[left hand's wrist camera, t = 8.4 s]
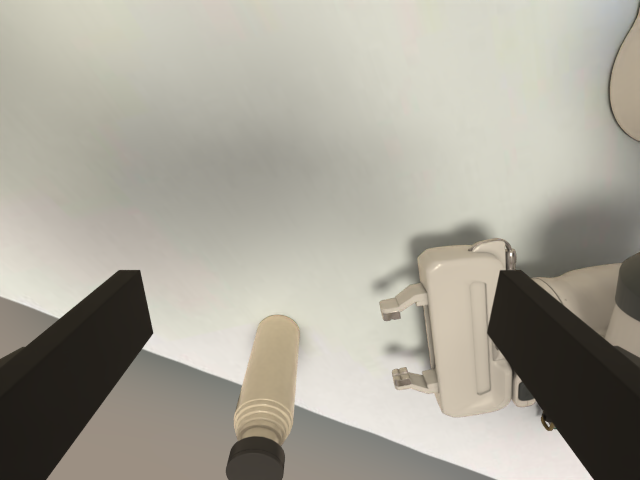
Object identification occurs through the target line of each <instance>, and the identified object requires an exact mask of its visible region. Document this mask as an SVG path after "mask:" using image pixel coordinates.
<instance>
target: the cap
mask: <svg viewBox="0 0 640 480" xmlns="http://www.w3.org/2000/svg"><path fill="white" fill-rule="evenodd" d="M284 462H285V454H284V451H283V449H282V447H281V446H280V445H279V444H278V443H277V442H275V441H273V440H272V439H269V438H266V437H260V436H251V437H246V438H243V439H241V440H239V441H238V442H236V443H235V444H234V446H233V447H232V449H231V451H230V455H229V459H228V463H227V467H226V475H227V478H228V479H229V480H282V478H283V472H284Z"/></svg>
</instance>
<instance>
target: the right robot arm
mask: <svg viewBox="0 0 640 480" xmlns="http://www.w3.org/2000/svg"><path fill="white" fill-rule="evenodd" d="M610 102H611V107H612V111H613V114H614V116H615V118H616V120H617V122H618V124H619V125H620V127H621V128H622V129H623V130H624V131H625V132H626V133H627V134H628V135H629V136H631V137H632V138H634V139H635V140H638V141H640V9H639V13H638V16H637V19H636V21H635V23H634V25H633V26H632V28H631V30H630V32H629V33H628V35H627V37H626V38H625V40H624V42H623V44H622V46H621V48H620V50H619V52H618V55H617V57H616V60H615V63H614V66H613V70H612V75H611V81H610ZM505 246H506V248H507V249H505ZM417 260H418V269H419V276H420V283H417V284H412V285H409V286H408V287H407V288H405V289H404V290H403V291H402V292H400V293H399V294H398V295H397V296H395V298H391V299H386V300H382V301H380V302H379V303H380V309H381V314H382V317H383V320H384V321H390V320H391V319H394V320H396V319H401V317H400V312H401V311H403V310H404V309H406V308H407V307H409V306H410V305H412V304H413V303H416V305H417V306H423V308H424V316H425V324H426V332H427V340H428V348H429V356H430V364H431V370H426V371H422V374H423V375H419V374H414V373H409V372H408V371H407V368H406V367H404V368H400V369H394V370H392V376H393V381H394V385H395V388H396V389H397V390H403V389H409V388H412V389H414V390H417V391H420V392H424V393H427V394H430V393H434V394H435V397H436V399H437V402H438V404H439V407H440V409H441V411H442V413H444V414H446V415H448V416H451V417H466V416H473V415H479V414H484V413H489V412H494V411H497V410H500V409H502V408H504V407H505V406H507V405H508V404H509V402H510V401H511V400H512V401H513V402H514V404H515V405H516V406H518V407H527V406H531V405H533V404H534V403H535V402H536V400H535V399H534V397H533V396H532V394H531V393H530V392H529V390H528V389H527V388H526V386H525V385H524V383H523V382H522V381H521V379H520V378H519V377H518V375H517V374H516V373H515V371H514V370H513V368H512V367H511V366H510V364H509V363H508V362H507V360H506V359H505V357H504V356H503V355H502V353H501V352H500V351H499V349H498V348H497V347H496V345H495V344H494V342H493V341H492V340H491V338H490V337H489V336H488V334H487V329H488V325H489V320H490V315H491V310H492V306H493V301H494V296H495V291H496V286H497V282H498V277H499V272H500V270H516V269H515V268H516V267H515V263H516V260H517V256H516V251H515V249H512V248H511V246H510V244H509V243H508V242H507V241H505V240H503V239H499V238H493V239H488V240H483V241H479V242H477V243H475V244H473V245H453V246H443V247H435V248H429V249H426V250H425V251H424V252H423V253H422V254H421V255H420V256H419V257H418V259H417ZM531 279H532V280H534V281H535V282H536V283H537V284H538V285H540V286H541V287H542V288H543V289H545V290H546V291H547V292H548V293H549V294H551V295H552V296H553V297H554V298H555V299H557V300H558V301H559V302H560V303H562V304H563V305H564V306H565V307H566V308H568V309H569V310H570V311H571V312H573V313H574V314H575V315H576V316H577V317H579V318H580V319H581V320H582V321H584V322H585V323H586V324H587V325H588V326H590V327H591V328H592V329H593V330H594V331H596V332H597V333H598V334H599V335H601V336H602V337H603V338H604V339H605V340H607V341H608V342H609V343H610V344H612V345H613V346H619V347H621V348H623V349H625V350H627V351H629V352H630V353H632V354H634V355H636V356H638V357H640V252H639V253H637V254H635V255H633V256H632V257H630V258H628V259H627V260H625V261H624V262H623V263H615V264H606V265H599V266H592V267H587V268H581V269H576V270H572V271H569V272H567V273H565V274H563V275H561V276H558V277H554V278H545V277H534V278H531Z"/></svg>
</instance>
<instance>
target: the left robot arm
mask: <svg viewBox="0 0 640 480" xmlns="http://www.w3.org/2000/svg"><path fill="white" fill-rule="evenodd" d="M152 334H153V329H152V325H151V320H150V315H149V310H148V306H147V301H146V296H145V291H144V286H143V282H142V277H141V272H140V270H119V271H117V272H116V273H115V274H114V275H113V276H111V277H110V278H109V279H108V280H106V281H105V282H104V283H103V284H102V285H100V286H99V287H98V288H97V289H95V290H94V291H93V292H92V293H91V294H89V295H88V296H87V297H86V298H85V299H83V300H82V301H81V302H80V303H78V304H77V305H76V306H75V307H74V308H72V309H71V310H70V311H69V312H67V313H66V314H65V315H64V316H63V317H61V318H60V319H59V320H58V321H56V322H55V323H54V324H53V325H52V326H50V327H49V328H48V329H47V330H46V331H44V332H43V333H42V334H41V335H39V336H38V337H37V338H36V339H35V340H33V341H32V342H31V343H30V344H28V345H27V346H26V347H22V348H20V349H18V350H16V351H14V352H12V353H10V354H9V355H7V356H5V357H3V358H1V359H0V480H46V479H47V478H48V476H49V475H50V474H51V472H52V471H53V470H54V468H55V467H56V465H57V464H58V463H59V461H60V460H61V459H62V457H63V456H64V455H65V453H66V452H67V450H68V449H69V448H70V446H71V445H72V444H73V442H74V441H75V439H76V438H77V437H78V435H79V434H80V433H81V431H82V430H83V429H84V427H85V426H86V424H87V423H88V422H89V420H90V419H91V418H92V416H93V415H94V414H95V412H96V411H97V409H98V408H99V407H100V405H101V404H102V403H103V401H104V400H105V398H106V397H107V396H108V394H109V393H110V392H111V390H112V389H113V388H114V386H115V385H116V383H117V382H118V381H119V379H120V378H121V377H122V375H123V374H124V372H125V371H126V370H127V368H128V367H129V366H130V364H131V363H132V362H133V360H134V359H135V357H136V356H137V355H138V353H139V352H140V351H141V349H142V348H143V347H144V345H145V344H146V342H147V341H148V340H149V338H150V337H151V336H152ZM487 334H488V336H489V337H490V338H491V340H492V341H493V342H494V344H495V345H496V347H497V348H498V349H499V351H500V352H501V353H502V355H503V356H504V357H505V359H506V360H507V362H508V363H509V364H510V366H511V367H512V368H513V370H514V371H515V373H516V374H517V375H518V377H519V378H520V379H521V381H522V382H523V383H524V385H525V386H526V388H527V389H528V390H529V392H530V393H531V394H532V396H533V397H534V399H535V400H536V401H537V403H538V404H539V405H540V407H541V408H542V409H543V411H544V412H545V414H546V415H547V416H548V418H549V419H550V420H551V422H552V423H553V424H554V426H555V427H556V429H557V430H558V431H559V433H560V434H561V435H562V437H563V438H564V440H565V441H566V442H567V444H568V445H569V446H570V448H571V449H572V450H573V452H574V453H575V455H576V456H577V457H578V459H579V460H580V461H581V463H582V464H583V466H584V467H585V468H586V470H587V471H588V472H589V474H590V475H591V476H592V478H593V479H594V480H640V357H638V356H636V355H634V354H632V353H630V352H629V351H627V350H625V349H623V348H621V347H619V346H613V345H612V344H610V343H609V342H608V341H607V340H605V339H604V338H603V337H602V336H601V335H599V334H598V333H597V332H596V331H594V330H593V329H592V328H591V327H590V326H588V325H587V324H586V323H585V322H584V321H582V320H581V319H580V318H579V317H577V316H576V315H575V314H574V313H573V312H571V311H570V310H569V309H568V308H566V307H565V306H564V305H563V304H562V303H560V302H559V301H558V300H557V299H555V298H554V297H553V296H552V295H551V294H549V293H548V292H547V291H546V290H545V289H543V288H542V287H541V286H540V285H538V284H537V283H536V282H535V281H534V280H532V279H531V278H530V277H529V276H527V275H526V274H525V273H524V272H523V271H521V270H500V272H499V277H498V282H497V286H496V291H495V296H494V301H493V306H492V310H491V315H490V320H489V325H488V329H487Z"/></svg>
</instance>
